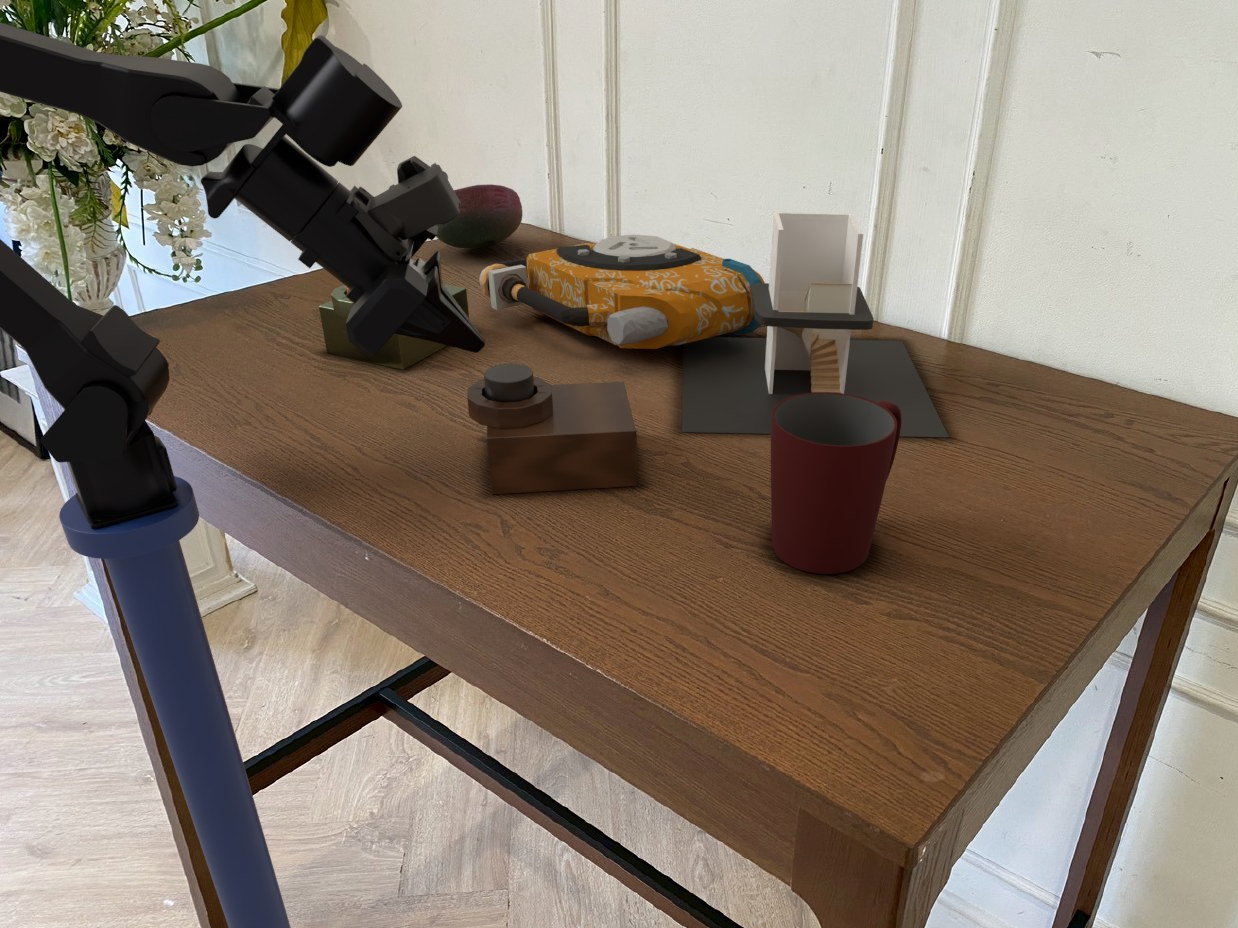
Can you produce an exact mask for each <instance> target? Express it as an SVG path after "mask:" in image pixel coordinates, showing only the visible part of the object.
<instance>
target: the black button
mask: <svg viewBox="0 0 1238 928" xmlns="http://www.w3.org/2000/svg"><path fill="white" fill-rule="evenodd" d="M533 376H534V371H533V369H532V368H531V367H529V366H528V365H526V364H525V365H524V364H521V363H513V362H512V363H510V362H509V363H501V364H496V365H492V366H489V367H488V368H486V369H485V370H484V372H483V379H484V383H485V394H486V398H487V399H488V400H491V401H497V402H502V403H506V402H520V401H523V400H527V399H530V398H532V397H533V396H534V380H533Z"/></svg>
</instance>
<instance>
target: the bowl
mask: <svg viewBox="0 0 1238 928" xmlns="http://www.w3.org/2000/svg"><path fill="white" fill-rule="evenodd" d="M453 190H454V192H455V193H456V195H457V197H458V198H459V200H460V202H461V204H460V205H459V207H458V208H459V210H460V212H459V215H458V216H456V217H455V218H454V219H452V220H451V221H449V222H447V223H445V224H437V226H438V231H437V236H436V237H435V238H437V240H439V242H442V243H443V244H445V245H448V246H451V247H454V248H457V249H480V248H487V247H492V246H495V245H497V244H500V243H502V242H503V241H505V240H507V239H508V238H509V237H510V236H512V235H513V234H514V233H515V232H516V231H517V230H518V228H519V227H520V225H521V223H522V220H523V205H522V202H521V198H520V196H519V194H518V193H517V192H516V191H515V190H514V189H513V188H510V187H507V186H504V185H501V184H491V183H490V184H475V185H469V186H465V187H461V188H457V189H453Z"/></svg>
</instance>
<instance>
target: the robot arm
mask: <svg viewBox="0 0 1238 928" xmlns="http://www.w3.org/2000/svg"><path fill="white" fill-rule="evenodd" d="M0 93H1V94H2V93H3V94H6V95H9V96H13V97H16V98H20V99H23V100H27V101H30V102H33V103H38V104H40V105H44V106H48V107H52V108H55V109H59V110H61V111H65V112H69V113H72V114H76V115H79V116H81V117H84V118H86V119H88V120H90V121H92V122H95V123H97V124H98V125H100V126H101V127H103V128H105V129H106V130H108V131H110V132H111V133H112V134H114V135H115V136H117V137H118V138H120V139H121V140H123V141H125V142H127V143H129V144H131V145H133V146H135V147H138V148H140V149H142V150H144V151H147V152H149V153H151V154H153V155H156V156H157V157H160V158H162V159H165V160H167V161H169V162H171V163H174V164H175V165H179V166H185V167H199V166H200V167H201V166H204V165H207V164H209V163H210V162H212V161H214V160H215V159H217V158H219V157H220V156H221V155H223V153H224V152H226V150H227V149H229V147H231V146H232V145H233V144H234V143H237V142H242V141H247V140H252V139H255V137H256V136H258V134H259V133H260V132H262V131H263V129H264V128H265V127H267V126H268V125H269V123H270V122H272V120H273V119H276V120H277V121H278V122H280V123H281V126H280V127H279V128H278V129H277V131H276V132H275V133H274V134H273V136H272V137H271V139H269V141H268V142H267V143H266V144H265V146H264V147H260V146H259V145H256V144H252V143H246V144H243V145H242V146H241V148H240V149H239V150H238V152H237V153H236V154H235V155H234V157H233V158H232V159H231V161H229V163H228V164H227V165H226V166H225V168H224V169H223V171H207V172H206V174H204V175H203V176H202V177H201V179H200V184H201V186H202V187H203V190H204V193H205V198H206V206H207V215H208V216H209V217H210V218H211V219H219V218H220V217H221V216H222V214H223V213H224V212H225V211H226V210H227V208H228V207H229V206H230V205H231V203H233V201H234V200H235V201H237V202H238V203H239V204H241V205H242V206H243V207H244V208H246V209H247V210H249V211H250V212H251V213H252V214H253V215H255V216H256V217H258V218H259V220H261V221H263V222H264V223H265V224H266V225H267V226H269V227H270V228H272V229H273V230H274V231H275V232H276V233H278V234H279V235H280V236H282V237H283V238H284V239H286V240H287V241H288V242H290V243H291V245H293V246H294V247H296V248H297V249H298V250H299V251H301V253H300V255H299V257H298V258H297V259H298V261H299V262H300V263H302V264H303V265H305V267H307V268H308V269H311V268H312V267H313V265H315V264H317V265H318V266H320V267H321V268H323V269H324V271H327V273H328V274H330V275H331V276H333V277H334V278H335V279H337V280H338V281H339V282H340V283H341V284H343V285H346V286H347V287H348V288H349V290H348V292H347V295H346V297H347V298H348V299H350V300H351V301H352V302H354V303H355V304H354V305H353V307H352V308H351V310H350V313H349V316H348V319H347V322H346V329H347V335H348V341H349V342H350V343H351V344H352V345H354V346H355V347H356V348H358V349H359V350H360V351H362V352H363V353H364V354H366V355H367V356H368V357H370V358H371V357H373V356H375V355H376V353H377V352H378V351H379V350H380V349H381V348H382V347H383V346H384V345H385V343H386V342H387V341H388V340H389V339H390V338H391V337H392V336H393V335H394V334H399V335H404V336H409V337H414V338H418V339H423V340H427V341H431V342H436V343H440V344H443V345H447V346H446V347H452V348H455V349H459V350H463V351H467V352H471V353H475V354H477V353H479V352H480V351H481V350H482V349H483V348H484V347H485V345H486V340H485V338H484V337H483V335H482V334H481V332H480V331H479V330H478V329H477V327H476V326H475V324H474V323H473V322H472V321H471V319H470V317H469V318H468V317H467V315H466V314H465V313H464V311H463V310H462V309H461V307H460V306H459V305H458V303H457V302H456V301H455V299H454V298H453V297H452V295H451V294H450V292H449V291H448V290H447V288H446V287H445V285H444V284H445V283H444V282H443V277H442V275H443V274H442V265H441V253H440V251H439V250H436V251H435V252H434V253H433V254H432V255H431V257H429V258H428V260H427V261H426V262H425V261H424V260H423V259H422V258H421V257H417V259H416V260H415V259H413V257H414V256H415V255H416V253H417V252H418V251H419V250H420V249H421V248H422V246H423V245H424V244H425V242H426V241H428V240H430V241H433V240H434V239H435V238H437V237H436V236H437V231H438V226H437V224H445V223H447V222H449V221H451V220H452V219H454V218H455V217H456V216H458V215H459V212H460V210H459V208H458V207H459V205H460V204H461V202H460V200H459V198H458V197H457V195H456V193H455V192H454V190H455V189H454V187H453V186H452V185H451V183H450V181H449V175H448V174H447V172H446V171H444V170H443V169H442V167H441V166H440V164H437V163H436V162H434V163H432V164H431V165H429V164H427V163H426V162H424V161H423V160H422V159H420V158H419V157H417V156H416V155H413V156H411V157H409V158H407V159H405V160H402V161H401V162H400V163H398V164H397V167H396V173H397V174H396V175H397V183H396V184H392V185H389V186H388V189H386V190H385V191H383V192H381V193H379V194H378V195H376V196H374V195H372V194H371V193H370V192H369V191H368V190H367V189H366V188H364V187H362V186H359V187H357V186H356V185H353V187H352V188H351V189H350V190H349V188H347V187H346V186H345V185H344V184H342V183H341V182H340V181H339V180H338V179H336V178H335V177H334V176H332V174H330V173H329V172H328V171H327V170H326V169H324V167H322V166H320V164H322V165H324V166H325V167H327V168H328V167H329V168H332V167H335V166H336V165H337V164H338V163H341V164H343V165H345V166H349V167H353V166H354V165H355V164H356V163H357V162H358V161H359V159H360V158H361V157H362V156H363V155H364V154H365V152H366V151H367V150H368V149H369V147H370V146H371V145H372V144H373V143H374V142H375V140H376V139H377V138H378V137H379V136H380V135H381V133H382V132H383V131H384V130H385V129H386V128H387V126H388V125H389V123H390V122H391V121H392V120H393V119H394V118H395V116H396V115H397V114H398V113H399V111H400V110H401V109H402V108H403V104H402V101H401V100H400V98H399V97H398V96H397V94H396V93H395V92H394V90H393V89H392V88H391V87H390V86H389V85H388V83H386V82H385V80H383V78H381V77H380V76H379V74H377V73H376V72H375V71H374V70H373V69H372V68H371V67H370V66H369V65H368V64H366V63H363V64H362V63H361V62H360V61H358V60H357V59H356V58H355V57H353V56H352V55H350V54H349V53H348V52H346V51H344V50H343V49H342V48H340V47H338V46H335V45H334V44H333V43H332V42H331V41H330V40H329V39H327V37H326V36H324V35H323V34H319V35H317V36H316V37H314V39H312V41H311V43H310V44H309V45H308V46H307V48H306V49H305V50H304V52H303V54H302V57H301V59H300V61H299V63H298V64H297V66H296V67H295V68H294V69H293V71H291V73H290V74H289V76H288V77H287V78H286V79H285V81H284V82H283V83H282V84H281V86H280V87H279V88H276V87H270V86H269V87H268V86H266V85H264V86H263V85H255V84H254V85H253V84H249V83H248V84H247V83H241V82H233V81H232V80H231V78H230V77H229V76H227V74H226V73H224V72H222V71H221V70H220V69H217V68H216V67H213V66H211V65H208V64H203V63H200V62H190V61H185V60H177V59H171V58H170V59H169V58H162V57H157V56H156V57H154V56H153V57H152V56H138V55H123V54H122V55H120V54H113V53H105V52H98V51H95V50H92V49H88V48H85V47H82V46H78V45H75V44H73V43H69V42H65V41H62V40H59V39H56V38H53V37H49V36H46V35H43V34H39V33H36V32H33V31H29V30H26V29H23V28H20V27H17V26H13V25H9V24H7V23H4V22H0ZM286 136H287V137H286ZM288 137H289V139H288ZM290 139H291V140H292V141H293V142H294V143H293V142H292V141H291V140H290ZM318 163H320V164H318ZM0 330H2V331H3V332H4V333H5V334H6V335H8V337H10V338H11V339H12V340H14V341H15V342H16V343H17V344H18V345H19V346H20V347H21V348H22V349H23V350H24V351H25V353H26V354H27V357H28V358H29V360H30V363H31V364H32V366H33V368H34V370H35V372H36V374H37V376H38V378H39V380H40V382H41V384H42V385H43V388H44V389H45V390H46V392H48V394H49V395H50V396H51V397H52V398H53V399H54V400H55V401H56V402H57V404H58V405H59V406H60V407H61V408H62V409H63V411H62V412H61V413H60V415H59V416H58V417H57V418H56V419H55V421H54V422H53V423H52V424H51V426H50V427H49V428H48V429H47V431H46V432H45V433H44V434H43V435H42V436H41V437H40V443H41V445H43V447H44V449H45V450H46V451H47V452H48V453H49V454H50V456H51V457H52V458H53V459H54V460H55V462H57V463H67V466H68V470H69V472H70V475H71V476H70V477H71V478H72V481H73V484H74V487H75V491H76V493H75V494H74V495H75V496H76V499H77V501H78V503H79V505H80V507H81V509H82V511H83V513H84V515H85V517H86V519H87V521H88V524H89V526H90V528H91V529H93V530H97V529H101V528H105V527H108V526H112V525H116V524H119V523H123V522H127V521H130V520H134V519H137V518H141V517H145V516H148V515H152V514H155V513H159V512H163V511H166V510H170V509H174V508H176V507H178V502H177V499H176V498H175V496H174V495H173V493H172V492H175V491H176V490H177V485H176V481H175V478H174V476H175V475H174V471H173V467H172V464H171V461H170V457H169V453H168V449H167V447H166V446H165V444H164V443H163V441H162V440H161V438H160V437H159V436H157V435H155V433H154V431H153V430H152V428H151V427H150V425H149V424H148V423H147V419H148V418H149V416H150V415H151V414H152V413H153V411H154V408H155V407H156V405H157V404H158V403H159V401H160V399H161V397H162V396H163V395H164V393H165V392H166V390H167V389H168V386H169V382H170V369H169V367H170V365H169V362H168V360H167V358H166V357H165V355H164V354H163V353H162V351H161V350H160V349H159V348H158V345H159V344H160V342H161V340H160V338H157V337H155V336H153V335H151V334H148V333H147V332H146V331H144V330H143V329H142V328H141V327H139V325H137V324H136V323H135V322H134V320H133V319H132V318H131V316H130V315H129V314H128V313H127V312H126V311H125V310H124V309H123V308H121V307H120V306H119V305H117V304H114V305H112V306H111V307H110V308H109V310H107V311H106V312H105V313H104V314H101V313H98V312H96V311H94V310H91V309H88V308H85V307H83V306H80V305H78V304H76V303H75V302H73V301H72V300H70V299H69V298H68V297H67V296H66V295H65V294H64V293H62V292H61V291H60V290H59V288H56V287H55V285H53V284H52V283H51V282H50V281H48V279H46V278H45V277H44V276H43V275H42V274H41V273H40V272H39V271H38V270H37V269H35V268H34V267H33V266H31V265H30V264H29V263H28V262H27V261H26V260H25V259H23V257H21V256H20V255H19V254H18V253H17V252H16V251H14V250H13V249H12V248H11V247H10V246H9V245H8V244H7V243H6V242H4V241H3V240H2V239H1V238H0Z"/></svg>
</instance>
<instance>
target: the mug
mask: <svg viewBox="0 0 1238 928" xmlns="http://www.w3.org/2000/svg"><path fill="white" fill-rule="evenodd" d="M901 422H902V417H901V411H900V409H899V407H898V406H897V405H896V404H894V403H891V402H889V401H880V402H878V403H876V402H874V401H871V400H868V399H866V398H862V397H858V396H854V395H849V394H843V393H832V392H814V393H806V394H800V395H796V396H792V397H790V398H787V399H785V400H783V401H781V402H780V403H778V404H777V405H776V406H775V408H774V409H773V412H772V422H771V434H770V497H771V498H770V508H771V509H770V510H771V512H770V513H771V516H770V517H771V546H772V550H773V552H774V554H775V556H777V557H778V558H779V560H781V561H782V562H784V563H785V564H787V565H789V566H791V567H792V568H795V569H798V570H800V571H802V572H807V573H813V574H819V575H835V574H842V573H847V572H850V571H853V570H855V569H857V568H859V567H861V566H862V565H863V564H864V563H865V562H866V560H867V559H868V556H869V553H870V550H871V545H872V542H873V537H874V533H875V529H876V526H877V522H878V521H877V520H878V517H879V514H880V509H881V506H882V501H883V496H884V492H885V489H886V488H885V487H886V483H887V481H888V478H889V476H890V473H891V470H892V468H893V464H894V461H895V457H896V454H897V449H898V447H899V441H900V437H901V436H900V431H901Z"/></svg>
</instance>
